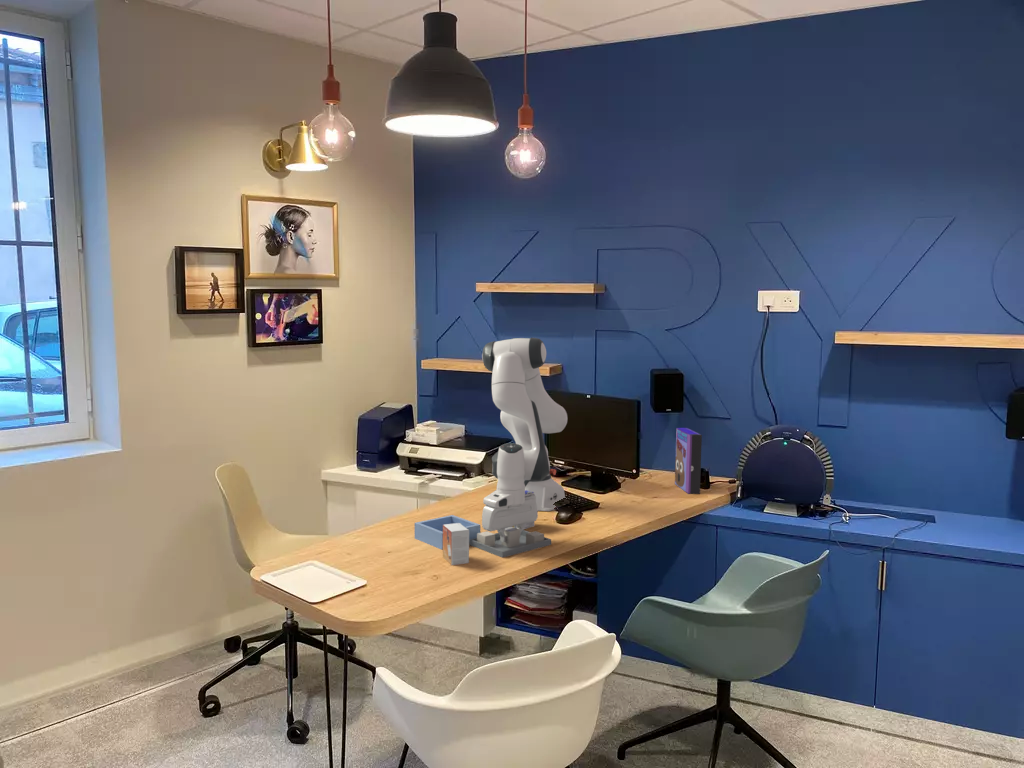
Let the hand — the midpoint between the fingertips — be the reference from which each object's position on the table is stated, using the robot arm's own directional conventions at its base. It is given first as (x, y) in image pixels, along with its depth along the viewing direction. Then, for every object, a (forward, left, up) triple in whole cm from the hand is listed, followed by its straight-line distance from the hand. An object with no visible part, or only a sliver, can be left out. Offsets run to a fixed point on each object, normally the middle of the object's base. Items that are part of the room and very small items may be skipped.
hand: (510, 539), depth 253 cm
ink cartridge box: (-15, -13, -2) cm, 20 cm away
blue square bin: (+12, -17, -2) cm, 21 cm away
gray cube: (-6, +5, -2) cm, 8 cm away
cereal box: (-106, -13, -2) cm, 107 cm away
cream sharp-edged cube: (+6, -5, -2) cm, 8 cm away
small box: (+22, +1, -2) cm, 22 cm away
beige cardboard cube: (0, 0, -2) cm, 2 cm away
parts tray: (0, 0, -2) cm, 2 cm away
